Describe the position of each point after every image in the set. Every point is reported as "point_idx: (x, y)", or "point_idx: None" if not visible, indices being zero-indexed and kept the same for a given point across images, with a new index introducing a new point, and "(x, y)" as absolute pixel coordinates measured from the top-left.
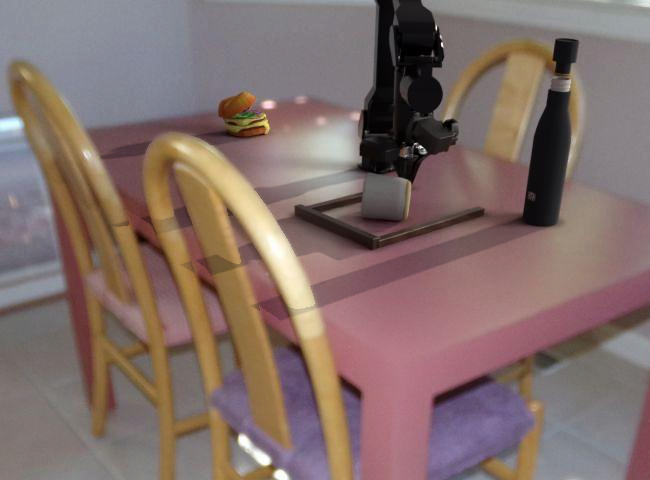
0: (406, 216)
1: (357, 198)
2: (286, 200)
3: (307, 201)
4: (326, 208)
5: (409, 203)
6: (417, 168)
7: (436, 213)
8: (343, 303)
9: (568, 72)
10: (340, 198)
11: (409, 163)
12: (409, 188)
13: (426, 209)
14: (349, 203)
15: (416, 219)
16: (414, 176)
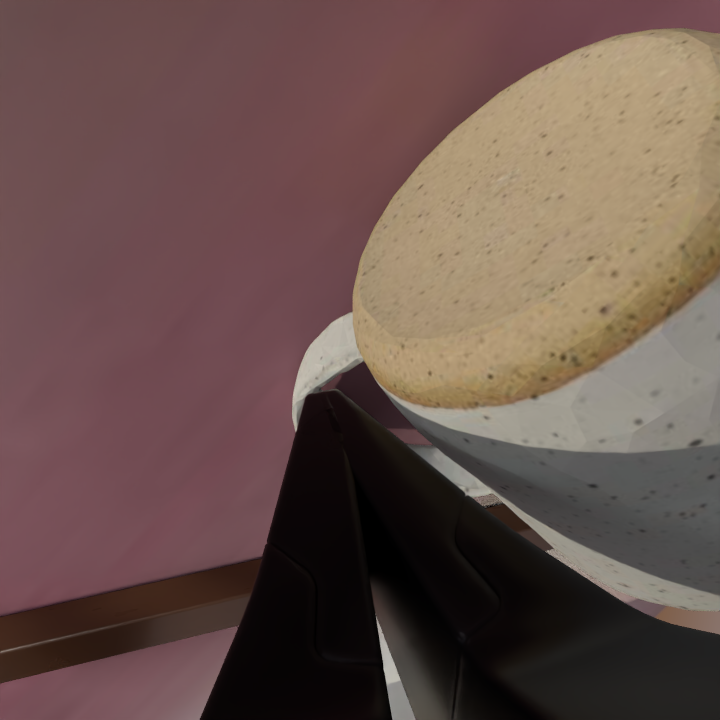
0: (541, 69)
1: None
2: (628, 597)
3: (586, 576)
4: None
5: (369, 259)
6: (288, 599)
7: (50, 138)
8: None
9: None
10: (541, 544)
11: (641, 646)
12: (715, 157)
13: (91, 273)
14: (495, 511)
15: (341, 110)
16: (303, 500)
